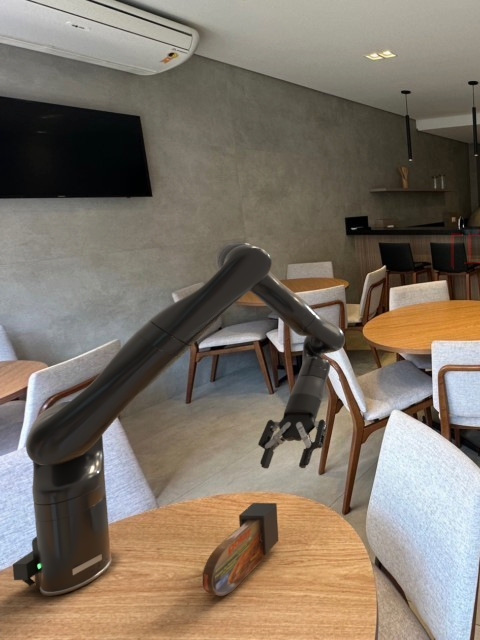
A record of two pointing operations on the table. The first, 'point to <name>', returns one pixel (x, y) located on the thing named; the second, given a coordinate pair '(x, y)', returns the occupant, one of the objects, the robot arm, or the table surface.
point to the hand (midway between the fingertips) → (283, 467)
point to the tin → (234, 559)
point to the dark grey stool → (263, 522)
